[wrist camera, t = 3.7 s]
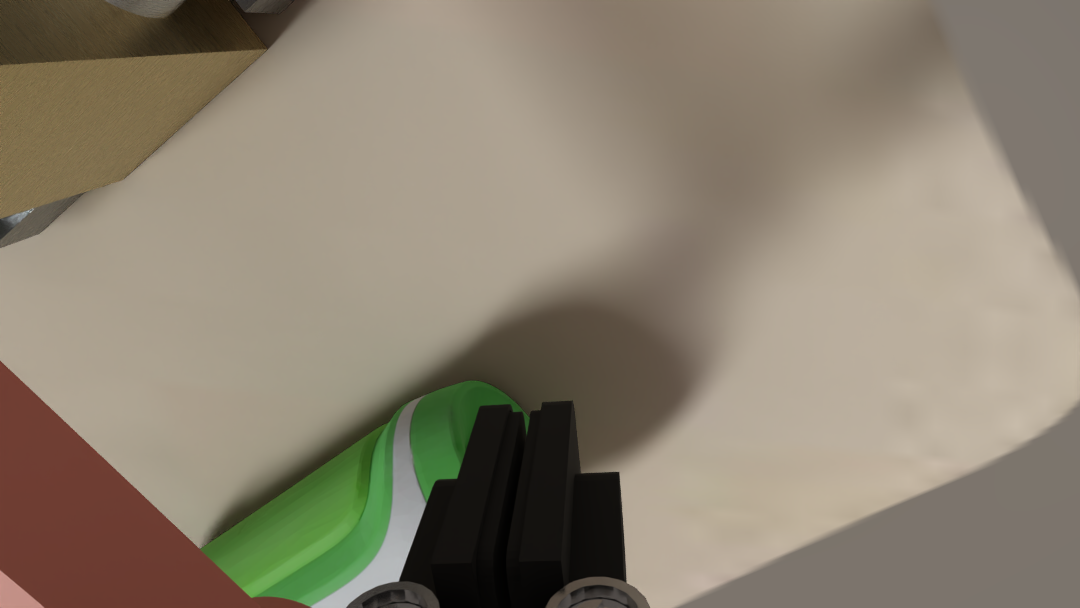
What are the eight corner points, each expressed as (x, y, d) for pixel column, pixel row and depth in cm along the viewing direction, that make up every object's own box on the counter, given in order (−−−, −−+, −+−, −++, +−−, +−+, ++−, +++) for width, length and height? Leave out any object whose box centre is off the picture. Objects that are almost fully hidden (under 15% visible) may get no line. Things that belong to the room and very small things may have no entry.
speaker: (274, 656, 31) (181, 838, 24) (154, 550, 29) (15, 713, 22) (588, 473, 26) (585, 635, 19) (466, 331, 24) (414, 452, 17)
